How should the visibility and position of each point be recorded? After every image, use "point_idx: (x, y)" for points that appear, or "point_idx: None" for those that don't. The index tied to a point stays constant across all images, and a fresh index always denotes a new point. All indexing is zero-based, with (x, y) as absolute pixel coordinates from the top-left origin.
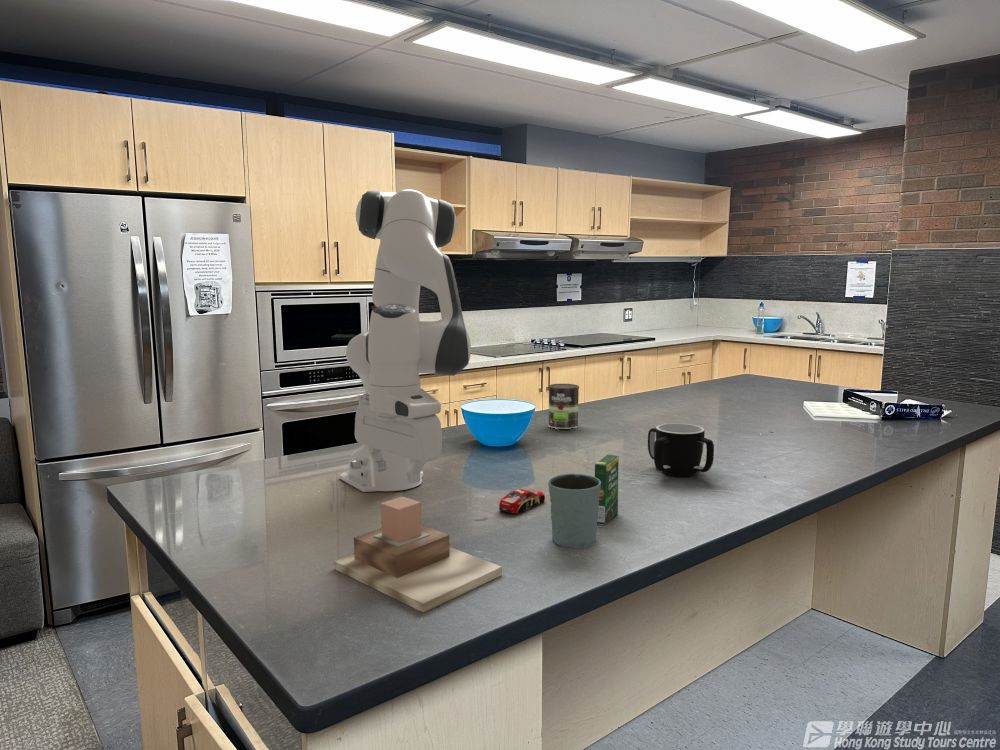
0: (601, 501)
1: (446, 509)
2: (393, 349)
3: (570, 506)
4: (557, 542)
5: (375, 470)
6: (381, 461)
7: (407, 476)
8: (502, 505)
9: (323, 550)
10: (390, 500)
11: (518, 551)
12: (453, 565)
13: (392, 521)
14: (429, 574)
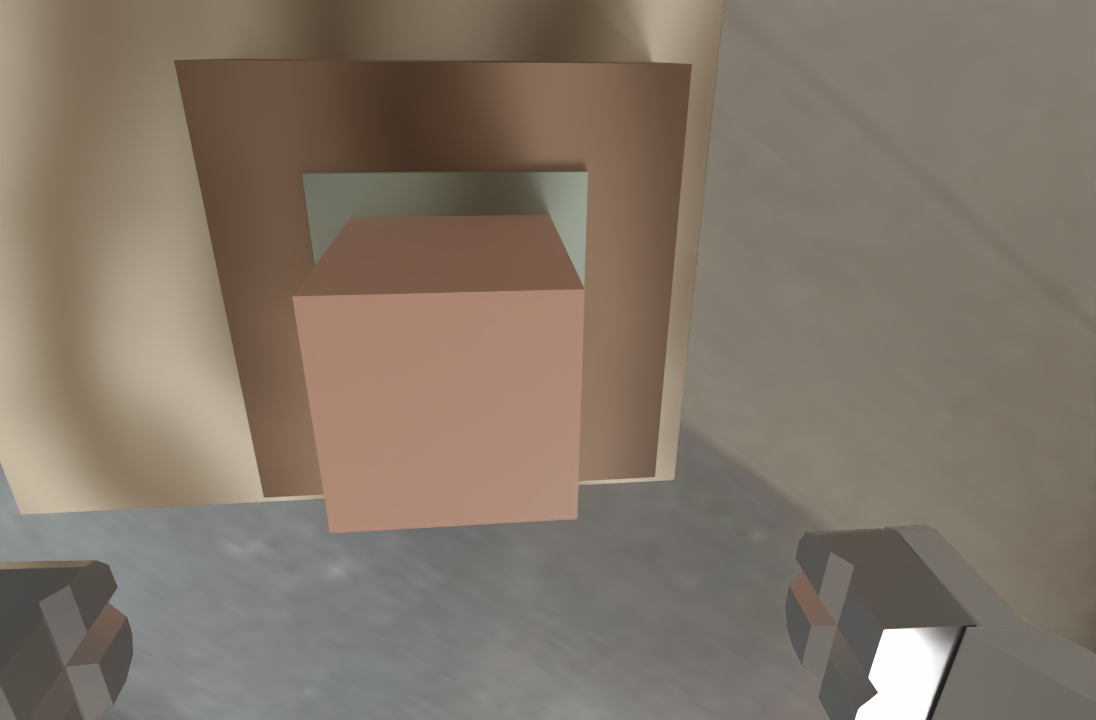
0: None
1: (785, 717)
2: None
3: None
4: None
5: (892, 527)
6: (900, 701)
7: (21, 616)
8: None
9: (951, 78)
10: (575, 395)
11: (221, 662)
12: (183, 377)
13: (413, 253)
14: (160, 223)
